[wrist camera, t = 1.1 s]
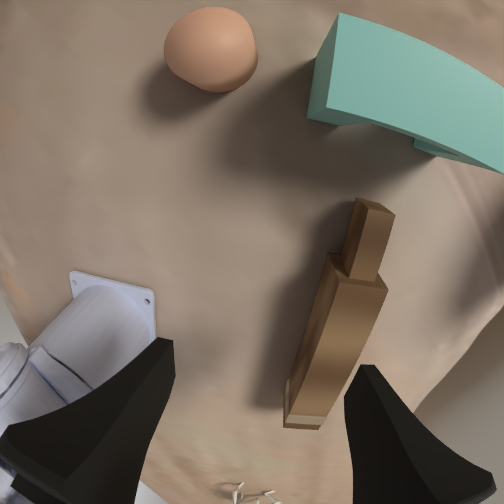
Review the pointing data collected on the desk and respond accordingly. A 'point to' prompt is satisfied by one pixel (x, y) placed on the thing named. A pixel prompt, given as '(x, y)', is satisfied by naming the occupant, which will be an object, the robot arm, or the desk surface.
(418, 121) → the teal angular block
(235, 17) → the bead
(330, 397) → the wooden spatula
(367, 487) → the robot arm
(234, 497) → the origami figure
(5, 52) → the desk surface
